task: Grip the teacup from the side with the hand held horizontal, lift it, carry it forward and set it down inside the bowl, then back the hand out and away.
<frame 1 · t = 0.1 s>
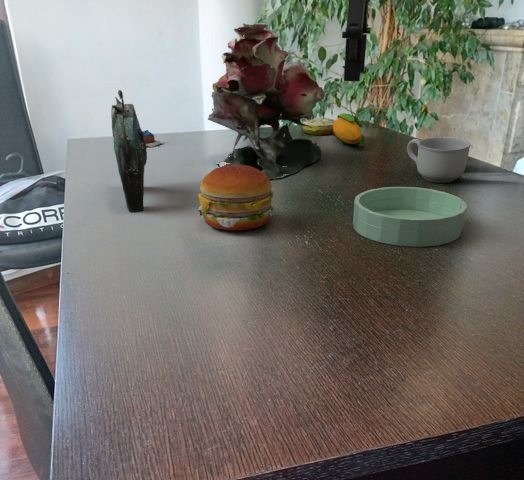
hand: (354, 76, 105), 22 cm above the table, tool pointing down, fingers open, 13 cm apart
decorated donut: (319, 133, 172), on the table
burger: (236, 224, 103), on the table
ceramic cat: (136, 198, 116), on the table
teacup: (432, 178, 127), on the table
dessert: (146, 145, 160), on the table
bowl: (406, 227, 100), on the table
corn: (349, 145, 157), on the table
rose bouquet: (260, 163, 141), on the table
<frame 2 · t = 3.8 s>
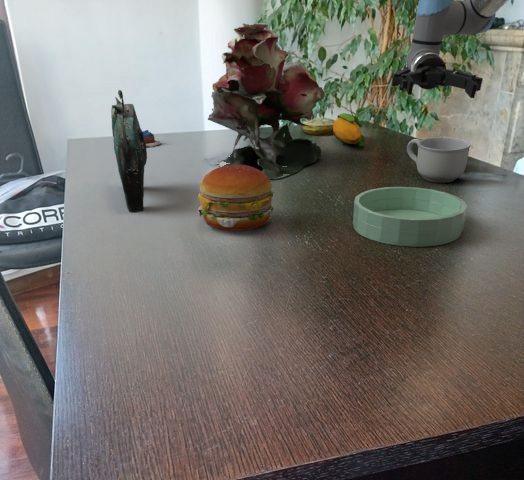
hand: (442, 89, 124), 17 cm above the table, tool horizontal, fingers open, 13 cm apart
nothing on the table moved.
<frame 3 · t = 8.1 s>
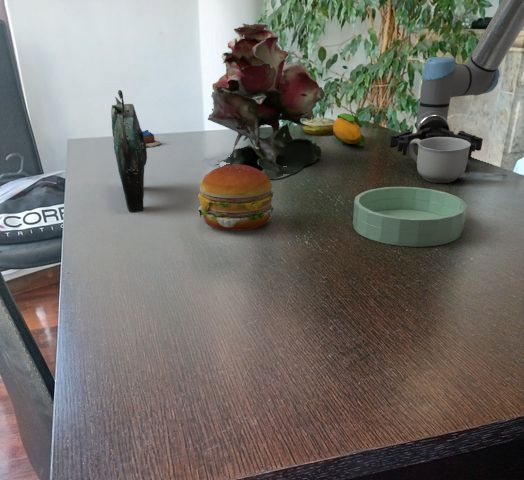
hand: (437, 150, 124), 6 cm above the table, tool horizontal, fingers open, 13 cm apart
teacup: (433, 179, 127), on the table, touching gripper
everything else where it was.
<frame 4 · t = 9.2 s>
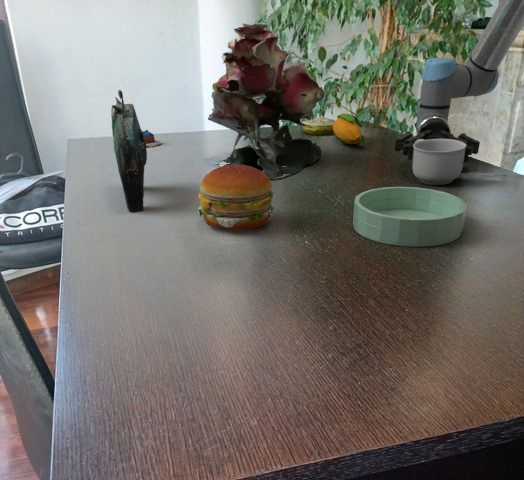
hand: (438, 154, 120), 6 cm above the table, tool horizontal, fingers closed on teacup, 11 cm apart
teacup: (431, 180, 126), on the table, touching gripper
everything else where it was.
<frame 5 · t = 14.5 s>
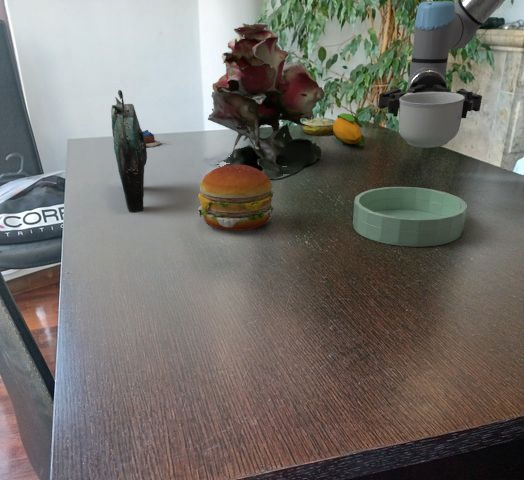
hand: (430, 108, 97), 18 cm above the table, tool horizontal, fingers closed on teacup, 11 cm apart
teacup: (421, 143, 103), point 12 cm above the table, touching gripper
everything else where it was.
when the fingers open (6 cm above the table, at t = 20.0 s): teacup stays where it is, resting on bowl.
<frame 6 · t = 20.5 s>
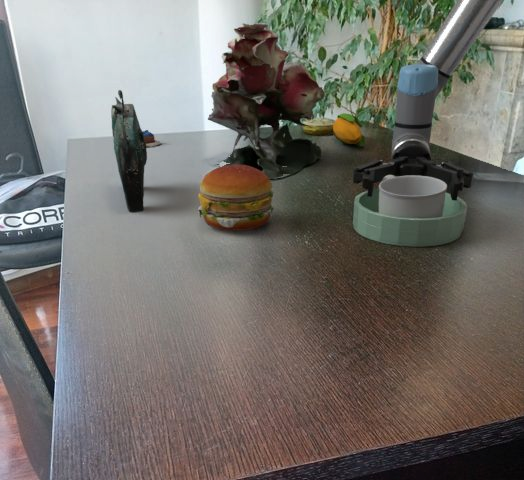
hand: (412, 190, 93), 7 cm above the table, tool horizontal, fingers open, 13 cm apart
teacup: (403, 228, 98), resting on bowl
everything else where it was.
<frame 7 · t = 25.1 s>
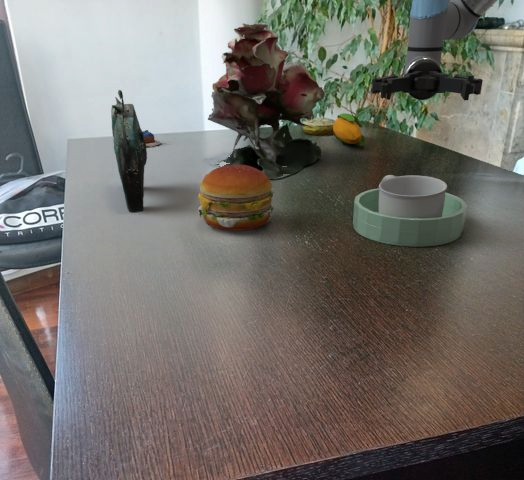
hand: (427, 91, 102), 20 cm above the table, tool horizontal, fingers open, 13 cm apart
nothing on the table moved.
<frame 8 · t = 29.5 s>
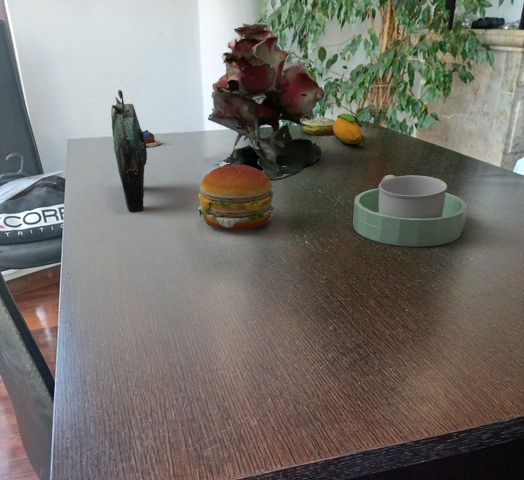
hand: (485, 29, 112), 29 cm above the table, tool pointing down, fingers open, 13 cm apart
nothing on the table moved.
at the end: teacup inside the target area in the bowl (1.7 cm from its centre), point 0.3 cm above the bowl's base; teacup tilted 0°; the gripper is holding nothing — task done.
